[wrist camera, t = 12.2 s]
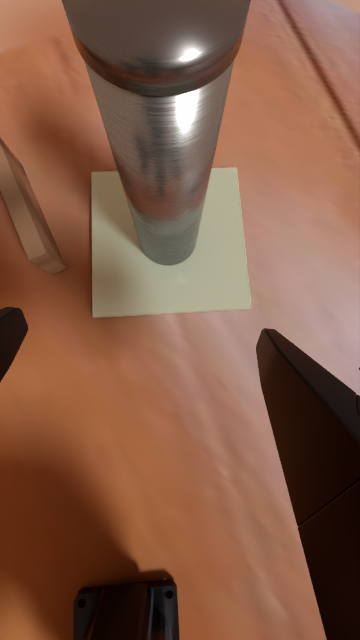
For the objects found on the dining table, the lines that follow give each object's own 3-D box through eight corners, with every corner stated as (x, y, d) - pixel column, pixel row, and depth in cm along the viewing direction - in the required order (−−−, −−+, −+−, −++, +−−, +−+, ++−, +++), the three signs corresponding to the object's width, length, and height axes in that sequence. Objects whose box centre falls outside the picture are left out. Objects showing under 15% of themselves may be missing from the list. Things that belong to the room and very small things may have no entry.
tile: (249, 309, 18) (251, 308, 18) (94, 317, 18) (92, 316, 18) (235, 171, 20) (236, 167, 20) (93, 176, 20) (91, 171, 19)
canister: (181, 277, 18) (200, 89, 5) (127, 250, 18) (19, 6, 5) (207, 226, 19) (282, -49, 6) (155, 201, 19) (118, -120, 6)
